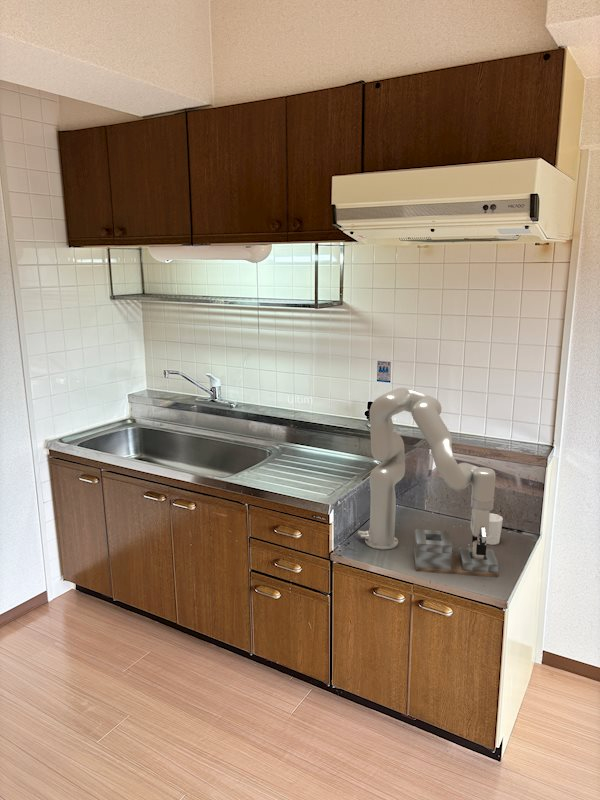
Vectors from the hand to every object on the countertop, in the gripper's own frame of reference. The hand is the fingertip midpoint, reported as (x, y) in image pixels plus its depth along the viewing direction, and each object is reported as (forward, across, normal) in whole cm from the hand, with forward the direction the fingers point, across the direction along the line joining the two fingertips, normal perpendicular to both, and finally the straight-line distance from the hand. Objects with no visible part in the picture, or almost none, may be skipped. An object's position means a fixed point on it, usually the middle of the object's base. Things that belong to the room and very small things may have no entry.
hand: (478, 548), depth 217 cm
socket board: (+7, 0, -8) cm, 10 cm away
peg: (+6, 0, 0) cm, 6 cm away
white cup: (+7, -22, +8) cm, 24 cm away
